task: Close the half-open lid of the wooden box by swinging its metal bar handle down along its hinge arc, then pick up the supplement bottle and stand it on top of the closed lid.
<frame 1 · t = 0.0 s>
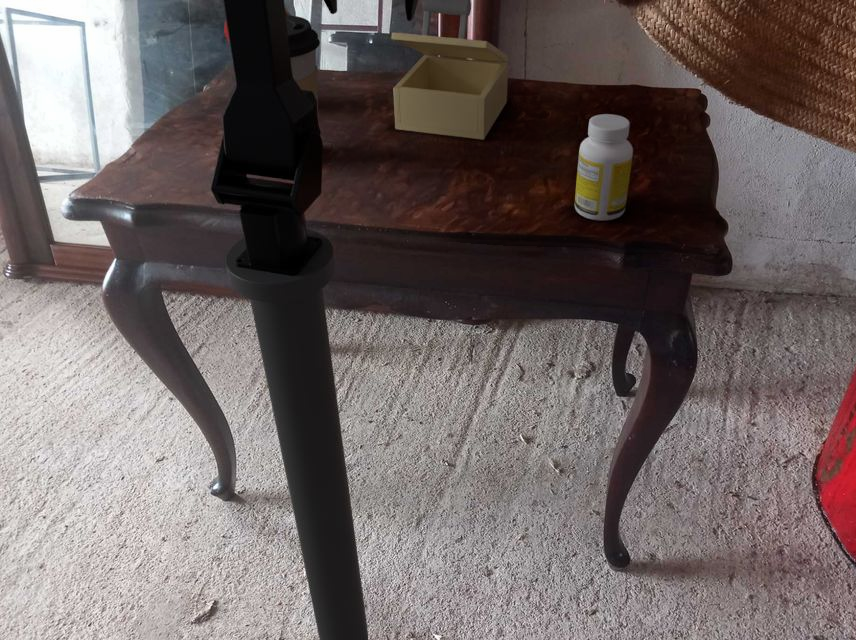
hand: (371, 16, 90), 14 cm above the table, tool pointing down, fingers open, 9 cm apart
supplement bottle: (598, 211, 85), on the table
lid: (455, 28, 98), point 11 cm above the table, hinge at 25.0°
decorative mushroom: (272, 108, 106), on the table
wooden box: (452, 115, 104), on the table
coffee cup: (292, 157, 94), on the table
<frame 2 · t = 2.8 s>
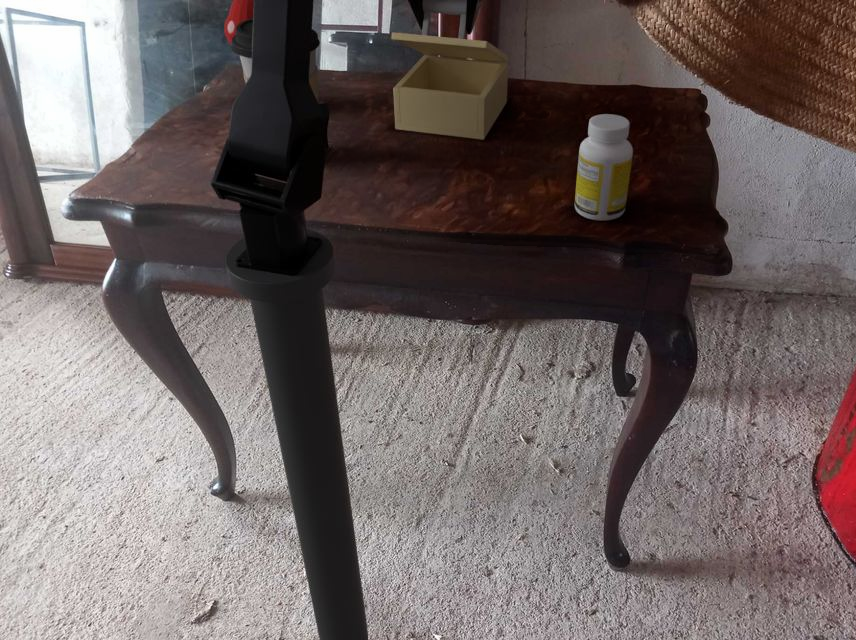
hand: (446, 31, 95), 11 cm above the table, tool pointing down, fingers closed on lid, 5 cm apart
lid: (455, 28, 98), point 11 cm above the table, hinge at 25.0°, touching gripper
everything else where it was.
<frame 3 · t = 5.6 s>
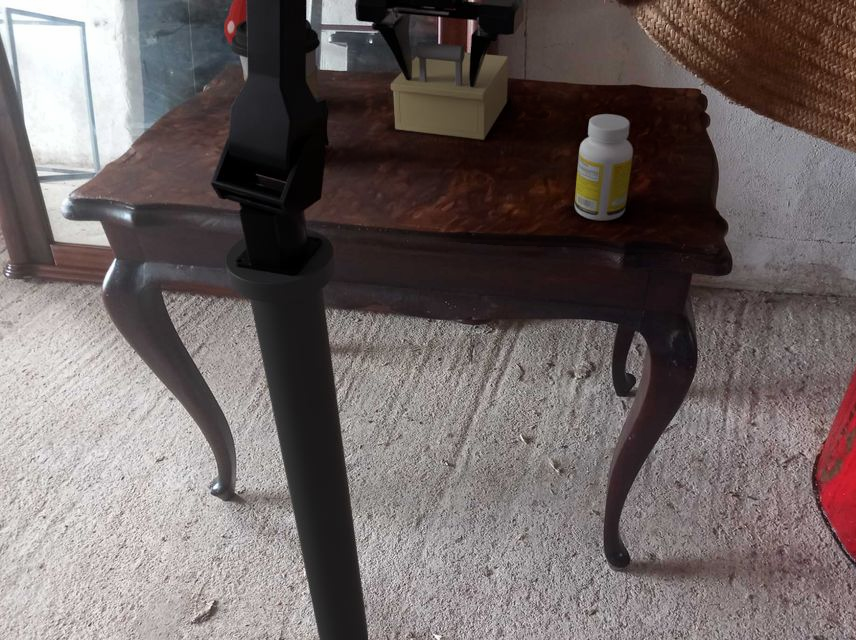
hand: (440, 82, 96), 6 cm above the table, tool pointing down, fingers open, 8 cm apart
lid: (451, 54, 99), point 8 cm above the table, hinge at -0.2°, touching wooden box
everything else where it was.
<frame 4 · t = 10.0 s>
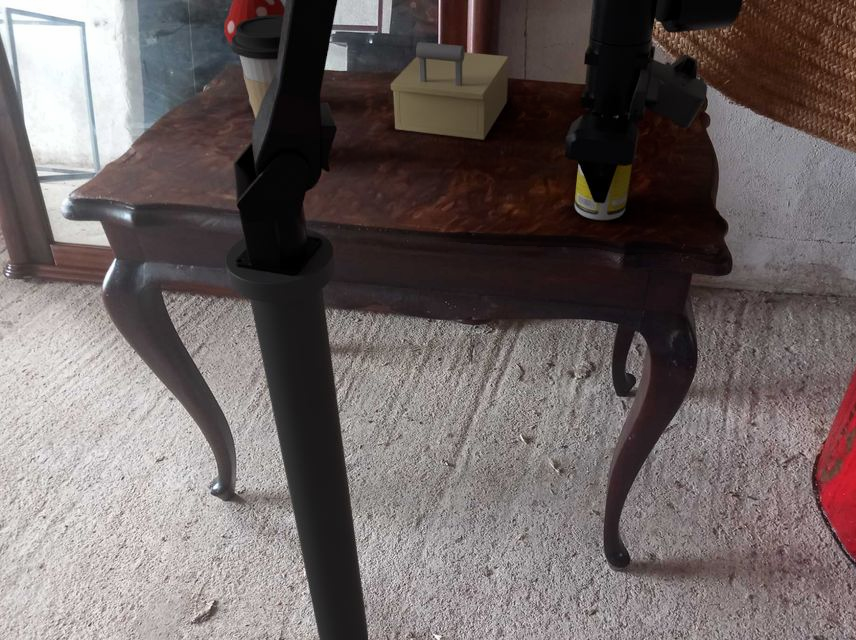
hand: (603, 189, 83), 2 cm above the table, tool pointing down, fingers closed on supplement bottle, 5 cm apart
supplement bottle: (598, 211, 85), on the table, touching gripper
everything else where it was.
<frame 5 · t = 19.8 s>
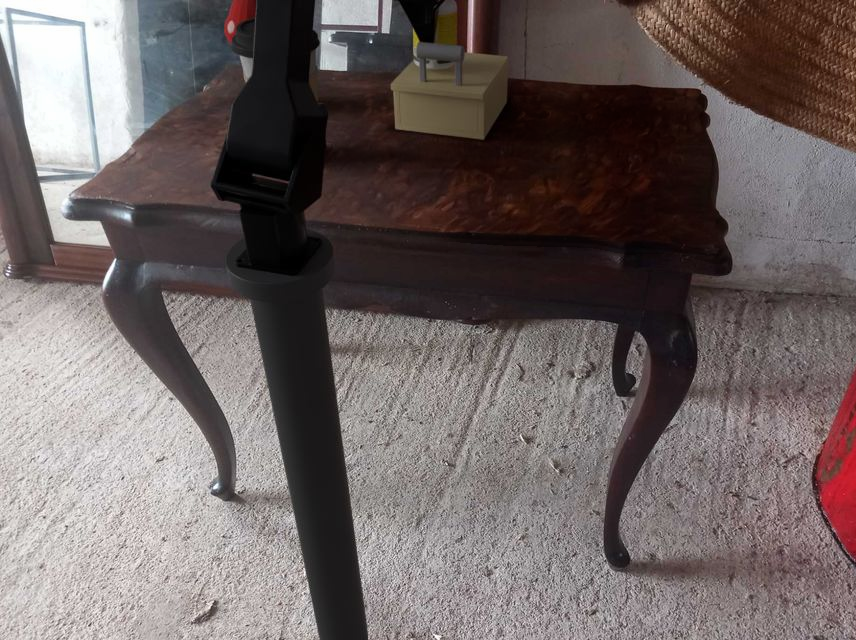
hand: (435, 43, 98), 9 cm above the table, tool pointing down, fingers closed on supplement bottle, 5 cm apart
supplement bottle: (434, 65, 100), point 7 cm above the table, touching gripper
everything else where it was.
when the fingers open (9 cm above the table, at t = 19.8 s): supplement bottle stays where it is, resting on lid.
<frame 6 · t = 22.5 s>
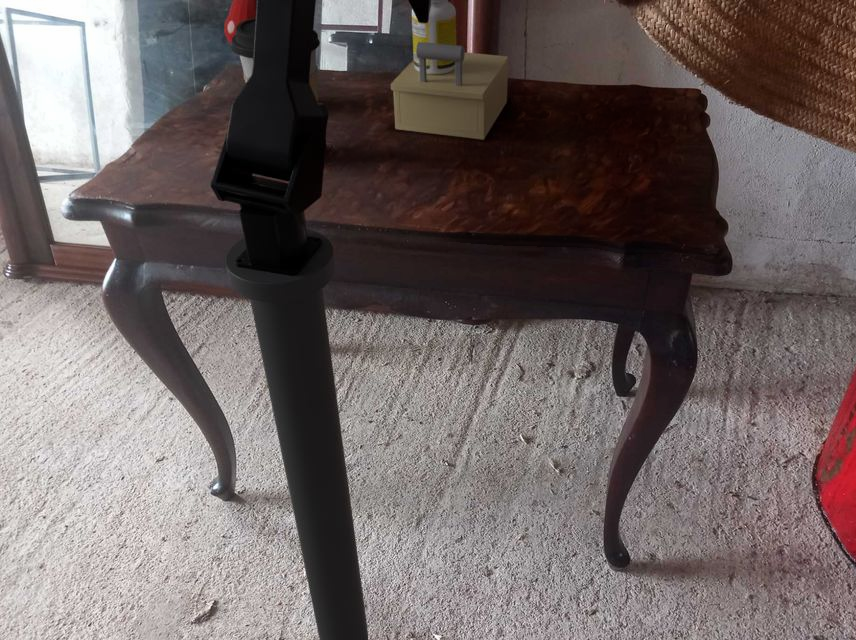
hand: (435, 11, 96), 13 cm above the table, tool pointing down, fingers open, 9 cm apart
supplement bottle: (435, 69, 100), point 6 cm above the table, touching lid
lid: (451, 54, 99), point 8 cm above the table, hinge at -0.2°, touching wooden box, supplement bottle
everything else where it was.
at the end: lid at +0° (first picture: +25°); supplement bottle inside the target area on the wooden box (0.2 cm from its centre), point 5.9 cm above the wooden box's base; supplement bottle tilted 0° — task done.
